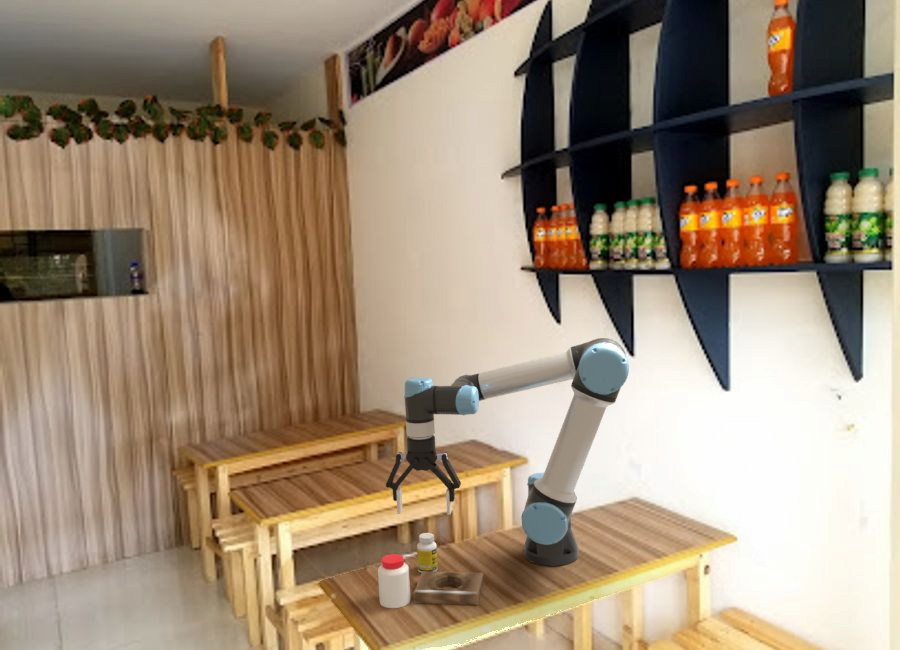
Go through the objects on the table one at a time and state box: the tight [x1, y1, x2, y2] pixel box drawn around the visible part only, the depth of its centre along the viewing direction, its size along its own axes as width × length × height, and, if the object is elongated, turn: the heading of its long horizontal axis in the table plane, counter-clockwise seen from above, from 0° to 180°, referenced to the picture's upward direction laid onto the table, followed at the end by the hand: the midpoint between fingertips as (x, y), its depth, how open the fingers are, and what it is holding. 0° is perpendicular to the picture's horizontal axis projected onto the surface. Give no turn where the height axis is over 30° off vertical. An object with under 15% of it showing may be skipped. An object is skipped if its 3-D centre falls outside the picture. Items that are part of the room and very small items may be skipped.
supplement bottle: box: [416, 532, 439, 574], centre depth 193 cm, size 5×5×10 cm
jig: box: [412, 571, 485, 606], centre depth 180 cm, size 16×12×3 cm
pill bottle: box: [377, 553, 411, 609], centre depth 177 cm, size 8×8×11 cm
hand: (424, 512), depth 192 cm, fingers open, 13 cm apart
